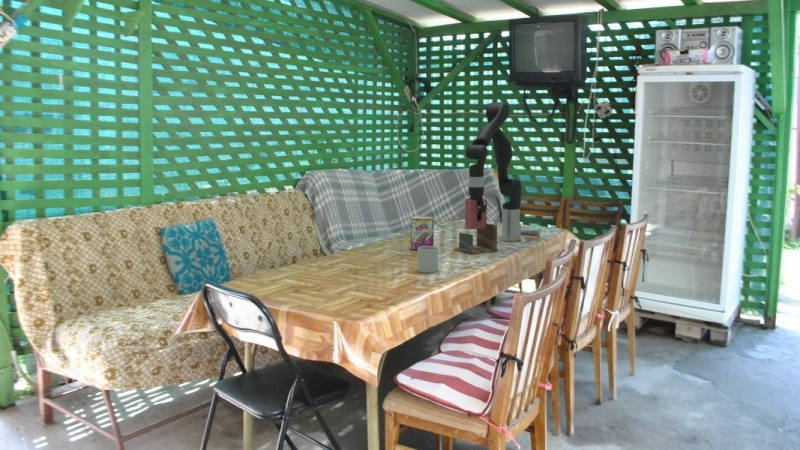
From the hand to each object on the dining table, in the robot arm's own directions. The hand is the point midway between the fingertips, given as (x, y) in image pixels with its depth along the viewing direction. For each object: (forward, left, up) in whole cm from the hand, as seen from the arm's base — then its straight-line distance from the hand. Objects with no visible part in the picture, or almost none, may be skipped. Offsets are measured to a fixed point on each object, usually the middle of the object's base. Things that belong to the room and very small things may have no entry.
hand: (476, 220), depth 331 cm
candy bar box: (+19, -19, -16) cm, 31 cm away
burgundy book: (0, 0, -4) cm, 4 cm away
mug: (+45, +24, -16) cm, 54 cm away
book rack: (0, 0, -15) cm, 15 cm away
